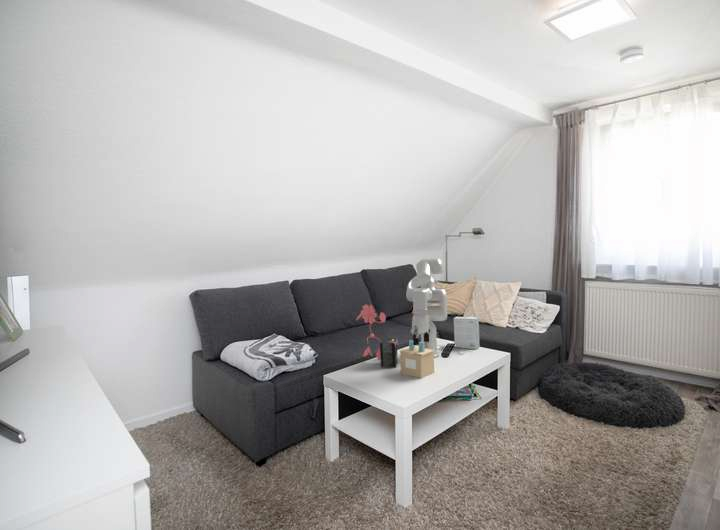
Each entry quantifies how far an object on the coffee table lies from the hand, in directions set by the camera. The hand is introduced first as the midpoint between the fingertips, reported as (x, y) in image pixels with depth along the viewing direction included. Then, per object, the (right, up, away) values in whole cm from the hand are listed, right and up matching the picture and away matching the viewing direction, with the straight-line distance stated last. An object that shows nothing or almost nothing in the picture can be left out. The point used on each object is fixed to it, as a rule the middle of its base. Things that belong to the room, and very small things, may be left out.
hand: (421, 343), depth 225 cm
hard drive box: (+39, -13, +54) cm, 67 cm away
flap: (+1, -5, 0) cm, 5 cm away
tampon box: (-16, -17, +20) cm, 31 cm away
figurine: (-27, -17, +33) cm, 46 cm away
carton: (-2, -17, +4) cm, 17 cm away
